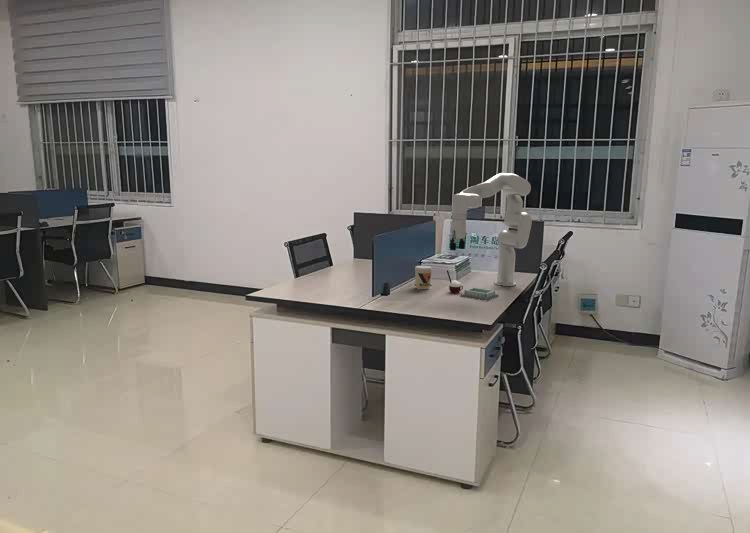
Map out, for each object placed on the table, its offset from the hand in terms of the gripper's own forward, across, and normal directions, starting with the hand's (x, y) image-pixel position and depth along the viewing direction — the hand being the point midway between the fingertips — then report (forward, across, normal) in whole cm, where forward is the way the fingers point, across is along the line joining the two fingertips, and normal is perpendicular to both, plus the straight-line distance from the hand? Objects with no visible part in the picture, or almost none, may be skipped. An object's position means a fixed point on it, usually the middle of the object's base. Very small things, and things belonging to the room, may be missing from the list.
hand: (457, 249), depth 308 cm
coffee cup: (+24, +3, -18) cm, 30 cm away
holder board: (+23, 0, +15) cm, 27 cm away
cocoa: (+24, 0, 0) cm, 24 cm away
